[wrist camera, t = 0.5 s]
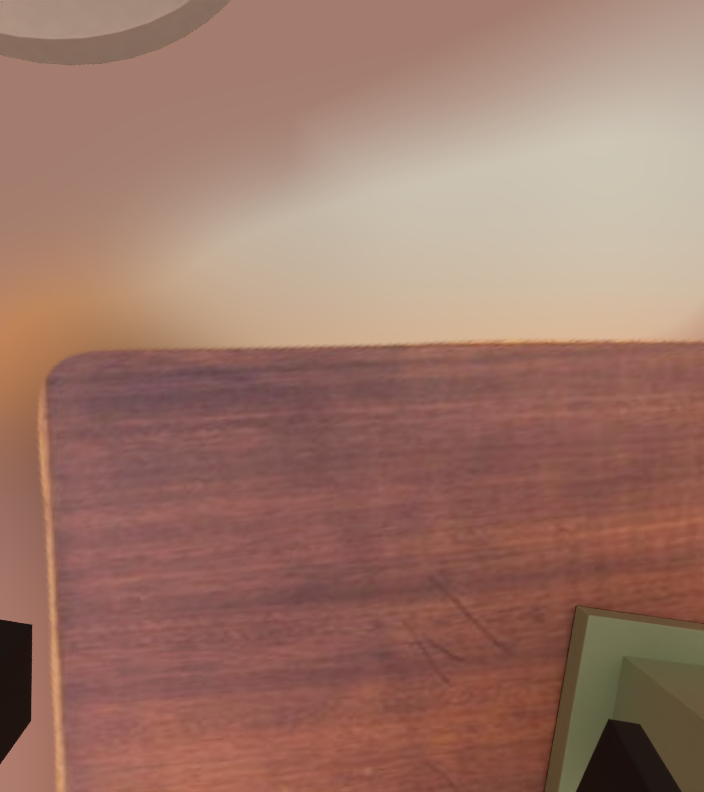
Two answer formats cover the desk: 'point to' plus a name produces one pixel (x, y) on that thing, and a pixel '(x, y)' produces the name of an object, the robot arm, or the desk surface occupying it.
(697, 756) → the stand
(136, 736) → the desk surface
